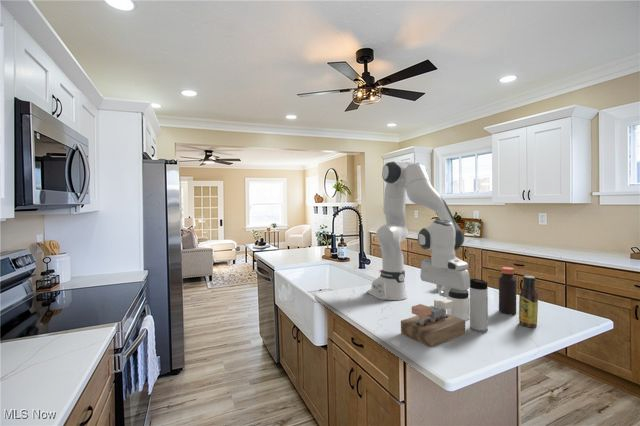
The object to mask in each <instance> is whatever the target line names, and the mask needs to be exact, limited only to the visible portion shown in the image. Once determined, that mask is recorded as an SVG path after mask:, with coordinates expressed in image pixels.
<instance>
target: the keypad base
mask: <svg viewBox="0 0 640 426" xmlns="http://www.w3.org/2000/svg"><path fill="white" fill-rule="evenodd" d="M400 334H401V335H404V336H405V337H408V338H410V339H413V340H415V341H417V342H419V343H421V344H422V345H423V344H424V345H426V346H428V347H430V348H432V347H435V346H438V345H440V344H443V343H444V342H447V341H450V340H453V339H454V338H457V337H459V336H461V335H462V336H463V335H464V334H466V321H465V320H463V319H460V318H457V317H454V316H451V315H448V314H447V313H446V318H445V319H444V318H441V316H440V317H437V318H435V322H431V321H430V317H428V316H425V317H424V326H423V327H422V326H419V316H418V315H414V316H411V317H408V318H404V319H402V320H400Z"/></svg>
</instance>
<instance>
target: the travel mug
mask: <svg viewBox="0 0 640 426" xmlns="http://www.w3.org/2000/svg"><path fill="white" fill-rule="evenodd" d="M488 285H489V284H488V281H485V280H484V279H479V278H470V287H469V298H470V319H469V329H470V330H471V331H473V332H476V333H479V334H480V333H487V332H488V331H489V328H488V327H489V326H488V325H489V323H488V322H489V317H488V316H489V313H488V312H489V311H488V310H489V308H488V307H489V306H488V305H489V303H488V302H489V299H488V298H489V296H488V295H489V293H488V290H489V289H488Z"/></svg>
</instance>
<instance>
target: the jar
mask: <svg viewBox="0 0 640 426" xmlns="http://www.w3.org/2000/svg"><path fill="white" fill-rule="evenodd" d="M446 299H448V300H452V301H453V307H452V308H449V309H446V314H448V315H451V316H454V317H457V318H460V319H463V320H465V322H466V321H468V320H470V292H469V289H467V290H464V291H463V290H458V289H454V288H451V290H450V291H449V293H448V297H447V298H446Z"/></svg>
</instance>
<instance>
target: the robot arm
mask: <svg viewBox="0 0 640 426" xmlns="http://www.w3.org/2000/svg"><path fill="white" fill-rule="evenodd" d="M381 176H382V179H383V180H384V182H386V184H385V187H384V193H383V194H384V198H383V209H382V210H383V214H384V215H385V216H384V217H385V221H386V223H385V224H384V225H382V226H380V227H379V228H378V229H377V230H376V233H375V238H376V240H377V242H378V244H379V247H380V251H381V259H382V261H381V263H382V269H380V270H378V272H379V276H378V277H377V278H375V279H374V280H373V281H372V283H371V288H370V289H367V291H366V293H367V294H368V295H369V294H370V295H371V296H373V297H375V298H377V299H379V300H381V301H382V300H383V301H385V300H386V301H388V300H389V301H402V300H405V299H407V298H408V294H407V289H406V281H405V278H406V271H405V260H404V257H405V256H404V254H403V252H402V249H401V248H402V247H401V243H403V242H404V241H405V239H406V238H407V237H408V236H409V235H408V234H409V230H408V227H407V221H406V219H407V218H406V200H407V199H406V198H407V197H408V200H410V201H411V202H412V203H413V204H415V205H417V206H420V207H424V208H426V209H430V210H432V212H434V213H436V215H437V217H438V218H439V219H436V220H433V221H432V223H431V224H430V225H428V226H426V227H423V228H421V229H420V231H419V232H418V234H417V243H418V245H419V246H420V248H422V249H423V250H425V251H431V254H430V255H431V257H430V258H431V259H429V258H424V259H422V260H421V267H420V277H419V278H420V280H421V281H422V282H425V283H429V284H433V285H436V288H437V290H438V295H439V297H441V298H445V299H447V297H448V293H449V291H450V290H451V288H454V289H458V290H463V291H464V290H470V279H471V278H470V277H471V276H470V273H469V270H468V269H469V263H468V262H467V261H464V260H462V259H461V258H458V257H457V256H456V251H457V250H459V249H460V248H461V247H462V245H464V242H465V235H464V232H463V231H462V229H461V228H460V226H459V225H458V224H457V222H456V220H455V217H454V216H453V214H452V212H451V210H450V208H449V205H448V204H447V202H446V200H445V199H444V197H443V195H441V194H440V193H438V192H437V191H436V190H435V188H434V187H433V185H432V184H431V180H430V177H429V175H428V173H427V168H426V166H425V165H424V164H422V163H420V162H410V161H389V162H386V163H385V164H384V166H383V167H382V170H381ZM443 286H445V289H446V290H445V291H444V290H443V289H442V287H443Z"/></svg>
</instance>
